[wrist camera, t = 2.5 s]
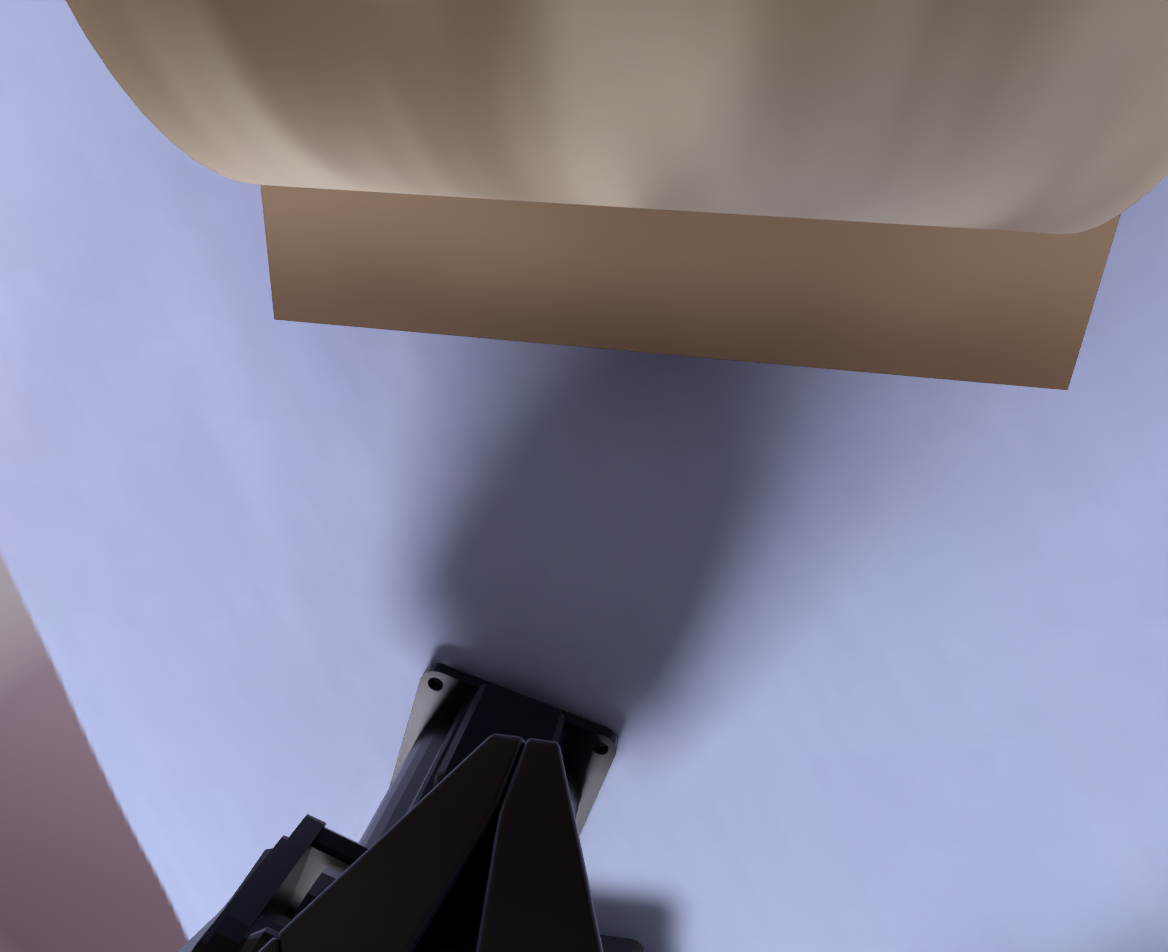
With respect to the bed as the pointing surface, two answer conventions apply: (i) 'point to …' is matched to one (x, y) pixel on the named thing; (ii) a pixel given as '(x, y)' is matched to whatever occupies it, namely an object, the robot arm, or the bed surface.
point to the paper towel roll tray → (691, 282)
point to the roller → (669, 101)
